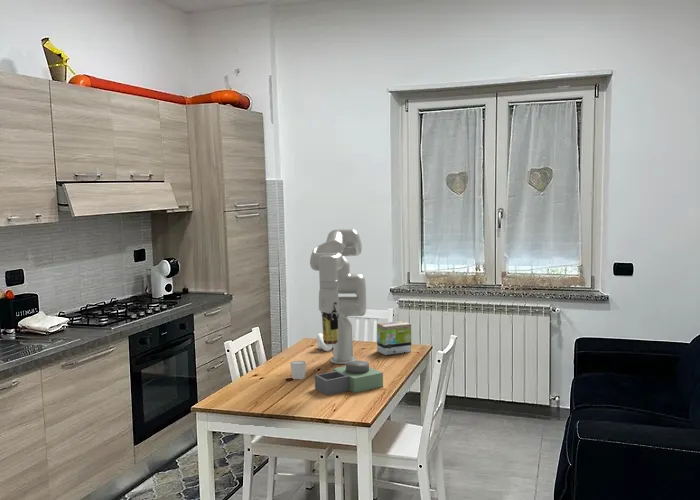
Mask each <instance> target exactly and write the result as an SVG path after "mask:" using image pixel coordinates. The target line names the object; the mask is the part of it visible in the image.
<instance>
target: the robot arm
mask: <svg viewBox="0 0 700 500" xmlns="http://www.w3.org/2000/svg"><path fill="white" fill-rule="evenodd" d="M362 249H363V247H362V241H361V238H360V234H359V233H358V231H357V230H356V229H351V228H350V229H349V228H348V229H344V228H343V229H340V228H339V229H334V230H331V231H329V233H328V234H327V237H326V241H325V242H323V243H321V244H319V245H317V246H315V247H314V248H313V249H312V250H311V251H312V252H311V254H310V259H309V265H310V268H311V269H312V270H313V271H316V272H317V271H318V274H319V276H318V277H319V290H318V310H319V311H320V314H321V315H322V314H323V312H325V313H327V314H330V316H331V320H330V324H331V330H334V329H338V342H337V343H336V344H333V348H332V351H331V354H333V355H332V356H333V357H331V358H330V362H331V363H332V364H334V365H335V364H336V365H346V363H347V362H350V361H357V357H355V356H354V345H353V343H354V342H353V338H354V337H353V324H352V322H351V321H350V320H349V318H348V317H363V316H365V315H366V312H367V286H366V285H367V284H366V279H365V276H364V275H363V274H362V273H351V271H350V267H351V265H350V262H349V260H348V259H347V257H357V256H360V254H362ZM339 294H341V295H352V294H353V295H354V294H355V295H356V296H339ZM332 311H335V312H332ZM333 314H334V316H333ZM322 327H323V323H322Z"/></svg>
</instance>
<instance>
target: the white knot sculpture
mask: <svg viewBox="0 0 700 500" xmlns="http://www.w3.org/2000/svg"><path fill="white" fill-rule="evenodd" d="M316 342H317V343H316V347H317V349H319V350H323V351H324V352H330V351H331V350H333V344H325V343H324V340H323V332H322V333H321V332H320V333H319V332H318V334H316Z"/></svg>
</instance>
